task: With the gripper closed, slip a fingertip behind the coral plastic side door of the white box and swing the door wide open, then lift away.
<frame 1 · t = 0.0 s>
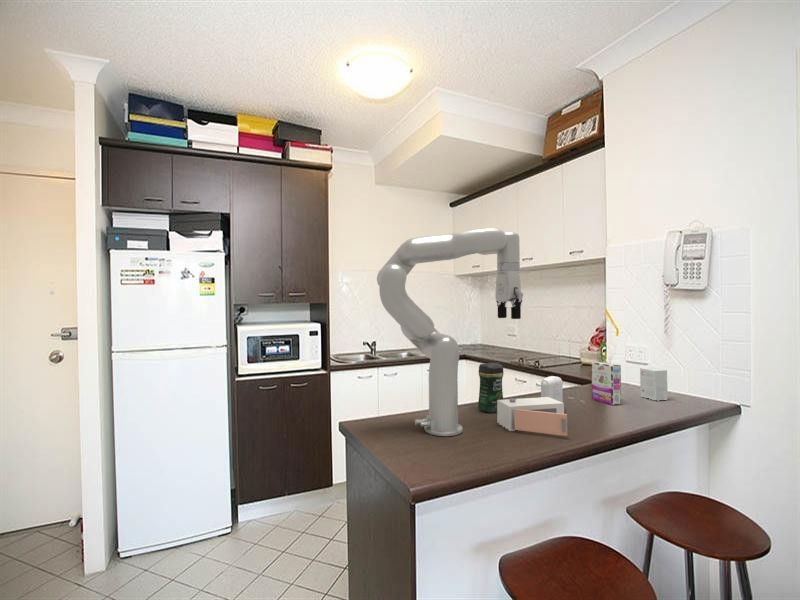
hand: (508, 318, 132), 37 cm above the counter, tool pointing down, fingers open, 9 cm apart
white box: (530, 424, 132), on the counter
candy bar box: (606, 402, 162), on the counter
side door: (538, 422, 121), point 4 cm above the counter, hinge at 35.0°
coffee jar: (491, 410, 150), on the counter
white rounded block: (552, 407, 154), on the counter
small box: (653, 399, 167), on the counter
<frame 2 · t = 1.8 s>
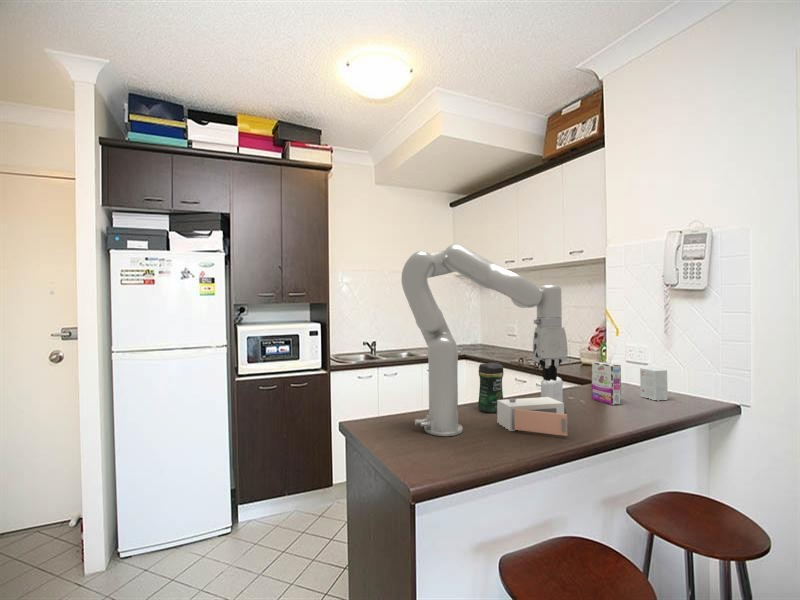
hand: (549, 379, 123), 17 cm above the counter, tool pointing down, fingers closed
nothing on the counter moved.
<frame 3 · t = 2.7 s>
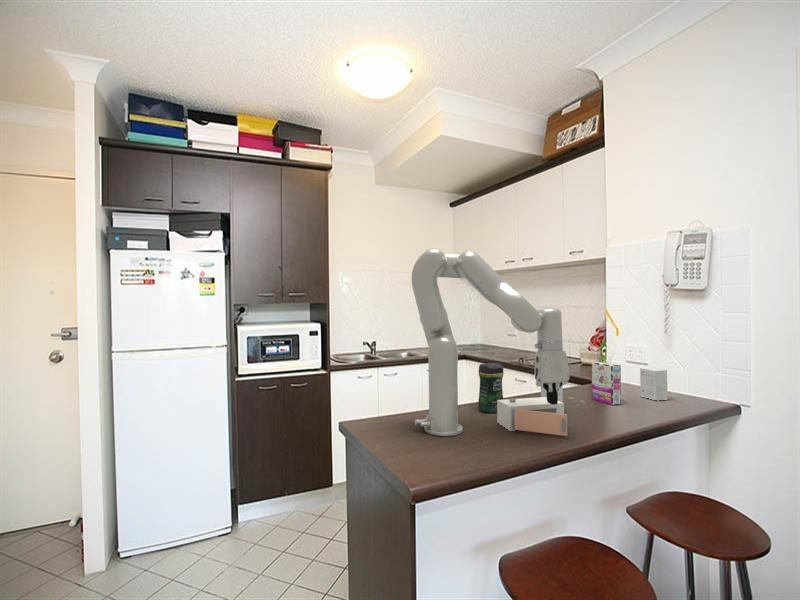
hand: (552, 403, 123), 10 cm above the counter, tool pointing down, fingers closed
nothing on the counter moved.
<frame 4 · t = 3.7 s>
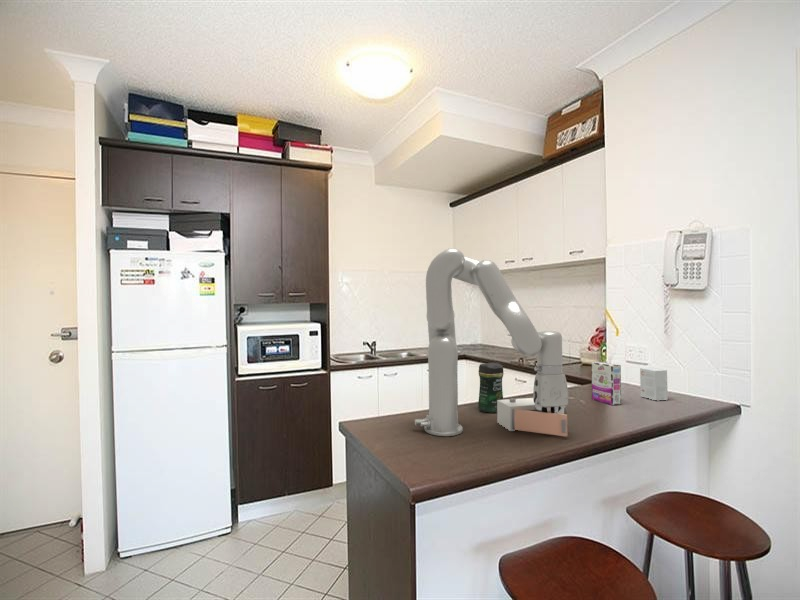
hand: (550, 427, 122), 2 cm above the counter, tool pointing down, fingers closed
side door: (538, 422, 121), point 4 cm above the counter, hinge at 37.5°, touching gripper
everything else where it was.
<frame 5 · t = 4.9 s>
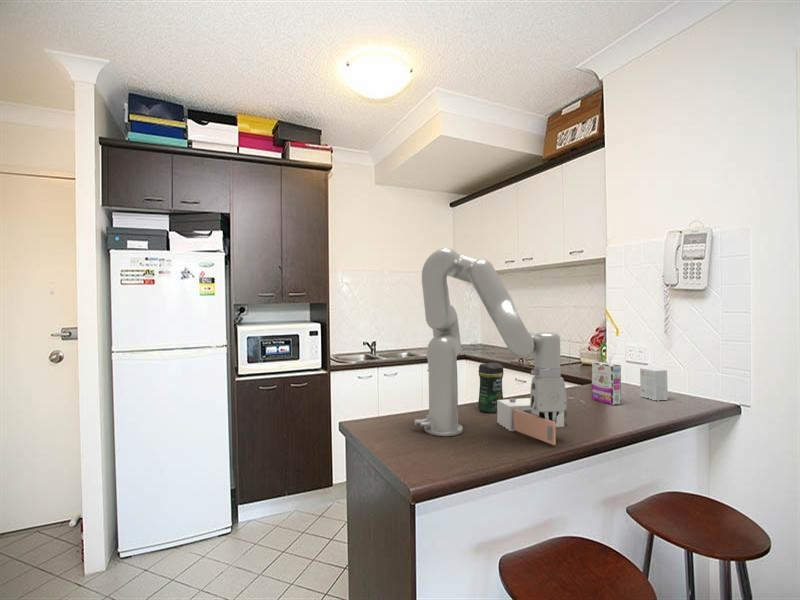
hand: (548, 432, 117), 2 cm above the counter, tool pointing down, fingers closed
side door: (531, 425, 118), point 4 cm above the counter, hinge at 73.4°, touching gripper
everything else where it was.
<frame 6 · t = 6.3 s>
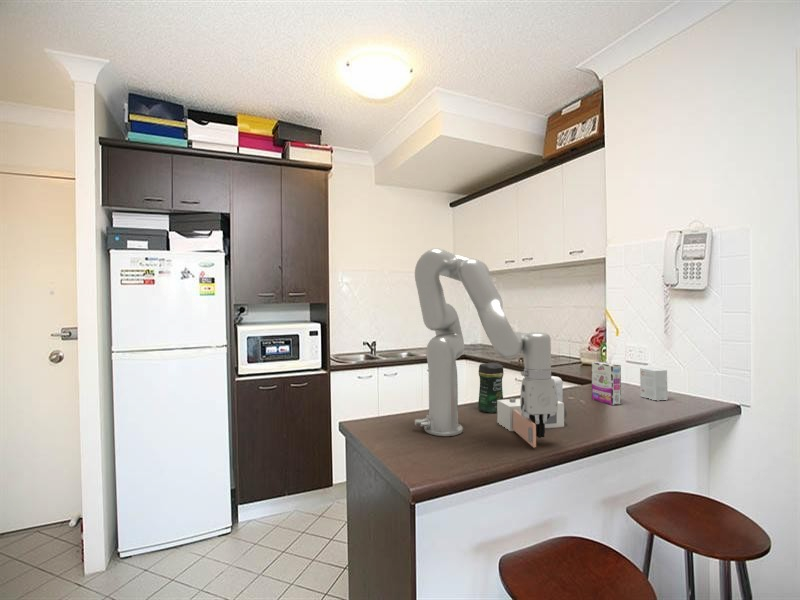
hand: (538, 435, 114), 2 cm above the counter, tool pointing down, fingers closed
side door: (522, 426, 117), point 4 cm above the counter, hinge at 97.7°, touching gripper
everything else where it was.
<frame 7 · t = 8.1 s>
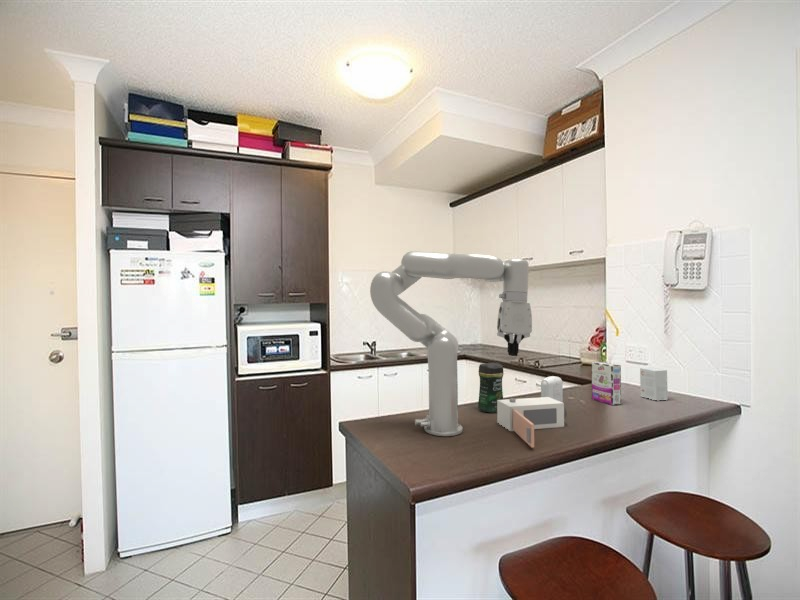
hand: (512, 355, 122), 25 cm above the counter, tool pointing down, fingers closed
side door: (521, 426, 117), point 4 cm above the counter, hinge at 99.6°
everything else where it was.
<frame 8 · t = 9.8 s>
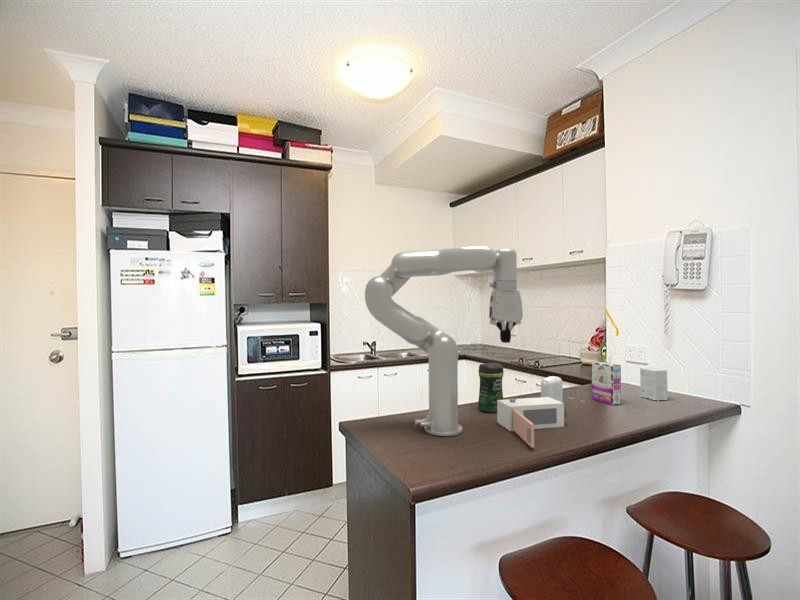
hand: (505, 342, 126), 29 cm above the counter, tool pointing down, fingers closed
nothing on the counter moved.
at the end: side door at +100° (first picture: +35°) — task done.
